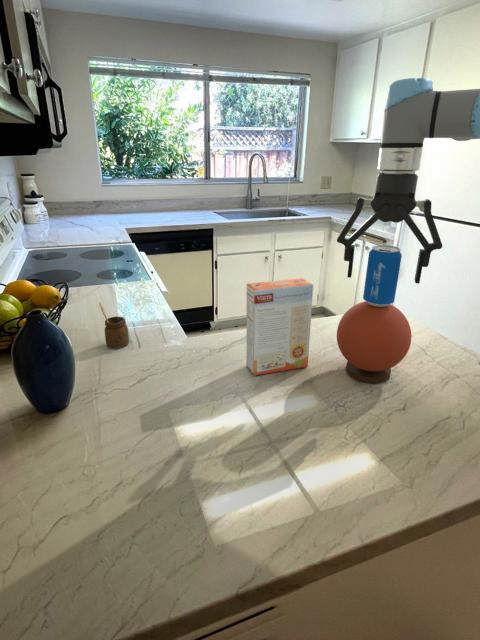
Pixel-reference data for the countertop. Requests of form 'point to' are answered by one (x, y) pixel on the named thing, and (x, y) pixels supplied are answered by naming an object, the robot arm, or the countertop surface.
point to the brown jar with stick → (116, 331)
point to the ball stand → (373, 341)
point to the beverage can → (382, 275)
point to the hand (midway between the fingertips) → (382, 278)
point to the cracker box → (278, 325)
